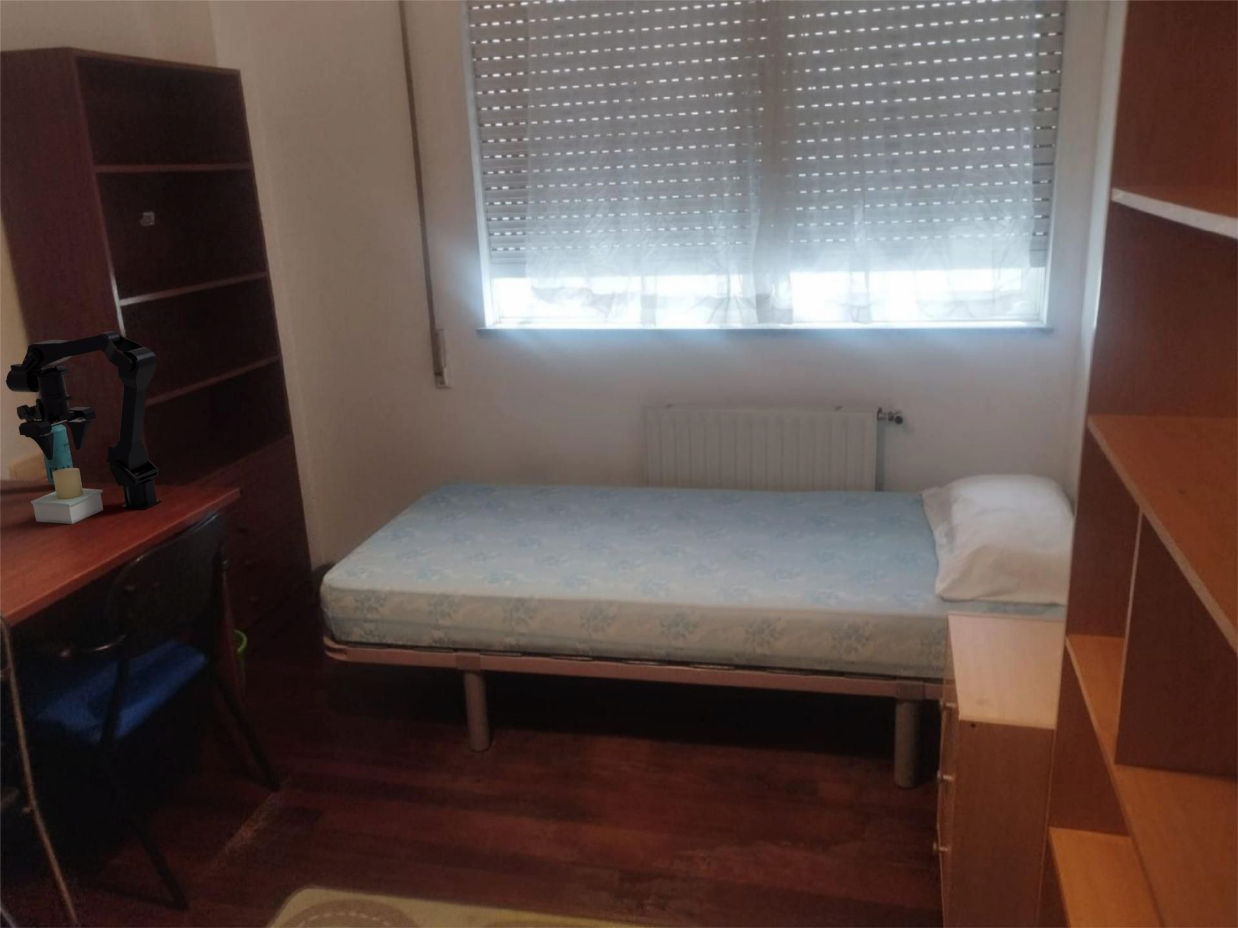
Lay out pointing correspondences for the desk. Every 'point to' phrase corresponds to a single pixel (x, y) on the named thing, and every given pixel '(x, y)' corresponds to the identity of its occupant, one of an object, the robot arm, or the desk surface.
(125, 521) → the desk surface
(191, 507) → the desk surface
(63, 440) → the beverage bottle
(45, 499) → the box lid
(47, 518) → the storage box
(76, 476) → the beige rounded cylinder
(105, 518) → the desk surface
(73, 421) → the robot arm
